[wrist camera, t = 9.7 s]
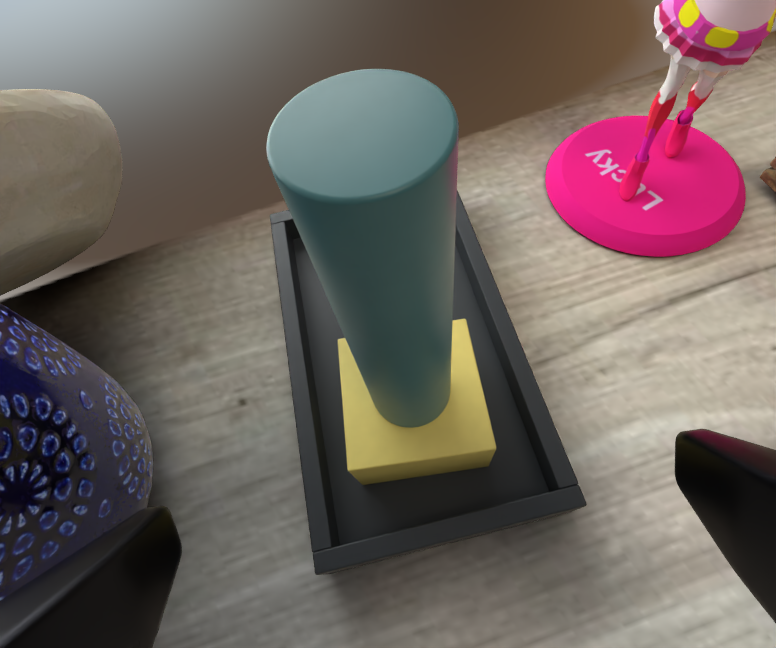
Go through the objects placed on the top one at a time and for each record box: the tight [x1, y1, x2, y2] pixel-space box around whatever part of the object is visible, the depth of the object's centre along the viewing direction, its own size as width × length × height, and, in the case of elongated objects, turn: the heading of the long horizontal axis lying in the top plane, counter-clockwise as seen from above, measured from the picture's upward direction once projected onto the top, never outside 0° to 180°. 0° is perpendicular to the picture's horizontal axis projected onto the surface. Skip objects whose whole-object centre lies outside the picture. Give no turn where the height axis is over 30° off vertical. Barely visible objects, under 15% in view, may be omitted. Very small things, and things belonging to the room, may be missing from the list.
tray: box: [270, 191, 586, 575], centre depth 20 cm, size 16×9×2 cm, turn 12°
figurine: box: [545, 0, 776, 257], centre depth 17 cm, size 10×10×15 cm
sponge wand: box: [267, 69, 496, 485], centre depth 13 cm, size 5×5×14 cm
